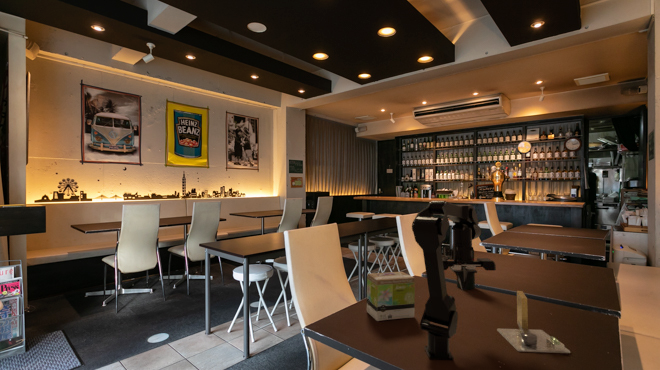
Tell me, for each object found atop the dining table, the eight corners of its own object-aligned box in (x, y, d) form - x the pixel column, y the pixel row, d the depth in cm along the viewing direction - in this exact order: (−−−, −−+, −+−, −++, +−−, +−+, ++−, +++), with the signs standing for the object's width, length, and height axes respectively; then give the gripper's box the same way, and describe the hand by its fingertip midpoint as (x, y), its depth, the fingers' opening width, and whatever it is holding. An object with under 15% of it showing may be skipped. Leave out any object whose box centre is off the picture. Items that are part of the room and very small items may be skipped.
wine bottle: (450, 287, 152) (449, 224, 153) (463, 284, 158) (462, 223, 159) (465, 291, 146) (464, 225, 147) (478, 288, 152) (477, 224, 152)
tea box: (377, 322, 112) (377, 280, 113) (366, 312, 122) (366, 273, 122) (415, 317, 117) (415, 276, 117) (402, 308, 126) (401, 270, 126)
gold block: (538, 346, 93) (538, 307, 93) (522, 343, 94) (522, 305, 94) (526, 324, 108) (526, 291, 108) (513, 322, 109) (512, 290, 109)
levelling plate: (570, 353, 91) (570, 342, 91) (518, 351, 92) (518, 341, 92) (541, 331, 105) (541, 322, 105) (496, 330, 106) (496, 321, 106)
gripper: (482, 238, 113) (483, 283, 113) (428, 238, 115) (428, 282, 115) (496, 244, 102) (496, 293, 102) (435, 244, 104) (436, 292, 103)
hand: (463, 290), depth 106 cm, fingers closed
